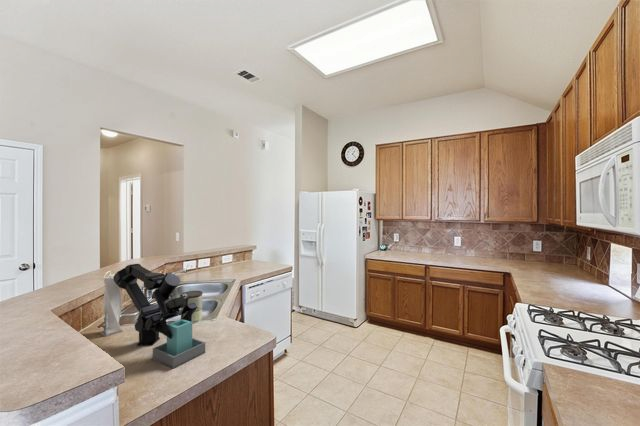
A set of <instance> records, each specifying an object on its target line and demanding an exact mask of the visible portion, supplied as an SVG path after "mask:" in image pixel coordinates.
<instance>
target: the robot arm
mask: <svg viewBox="0 0 640 426" xmlns="http://www.w3.org/2000/svg"><path fill="white" fill-rule="evenodd" d="M138 280H139V281H141V282H143V287H144V288H145V289H146V290H148V291H152V290H154V291H153V293H152V296H151V299H152V300H155V302H156V303H155V304H151V303H150V301H149V300H148V298H147V296H146V295H145V294H144V292H143V291H142V289H141V287H140V285H139V284H138V282H137V281H138ZM114 282H115V283H116V284H117V286H118V287H120V289H121V290H125V292H126V293H127V295H128V296H129V298H130V300H131V302H132V303H133V305H134V307H135V308H136V310H137V312H138V315H137V316H138V317H137V320H136V323H135V324H134V330H135V331H137V332H138V342H137V343H136V346H153V345H155V343H157V342H158V341H159V340H160V339H161V337H160V333H161V334H162V335H164V336H165V337H166V338H167V337H168V338H170V339H171V338H172V334H171V332H170V330H169V328H168V326H167V324H168V323H167V320H169V319H173V318H176V317H178V316H181V315H182V316H183V319H184V320H187V321H190V322H192V314H193V313H194V311H195V310H196V309H197V308H198V307H197V305H196V304H195V303H191V304H188V305H186V306H185V307H184V308H183V309H182V310H181V307H182V306H181V305H183V304H186V303H185V302H187V301H188V300H189V299H188V296H187V294H182V293H181V294H182V295H181V294H180V295H179V297H175V296H174V297H173V294H174V292H175V290H176V289H177V288H178V286H179V284H180V283H181V278H180V276H178V275H176V274H173V272H166V273H165V274H164V273H161V272H153V271H151V270H149V269H147V268H146V267H143V266H142V265H141V264H140V263H133V264H127V265H126V266H125V267H123V268H122V269H120V270H117V272H116V273H115V275H114ZM172 293H173V294H172Z"/></svg>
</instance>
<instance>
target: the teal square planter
mask: <svg viewBox="0 0 640 426" xmlns="http://www.w3.org/2000/svg"><path fill="white" fill-rule="evenodd" d="M166 324H167V326H168V328H169V330H170V332H171V334H172V338H171V339H170V338H168V337H167V336H166V343H167V353H168V354H170V355H172V356H176V355H178V354H180V353H182V352H184V351H187V350H189V349H191V348H192V338H193V324H192V322H190V321H187V320H184V319H181V318H180V319H179V320H175V321H173V322H170V323H166Z"/></svg>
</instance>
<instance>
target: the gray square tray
mask: <svg viewBox="0 0 640 426" xmlns="http://www.w3.org/2000/svg"><path fill="white" fill-rule="evenodd" d="M204 354H206V342H205V341H202V340H200V339H197V338H194V337H192V348H191V349H189V350H187V351H184V352H182V353H180V354H178V355H176V356H172V355H170V354H168V353H167V342H165V343H163V344H159V345H158V346H155V347H152V360H155V361H156V362H159V363H160V364H163V365H164V366H166V367H169V368H171V369H175V368H178V367H180V366H183V364H186V363H187V362H190V361H191V360H193V359H196V358H199V356H201V355H204Z"/></svg>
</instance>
